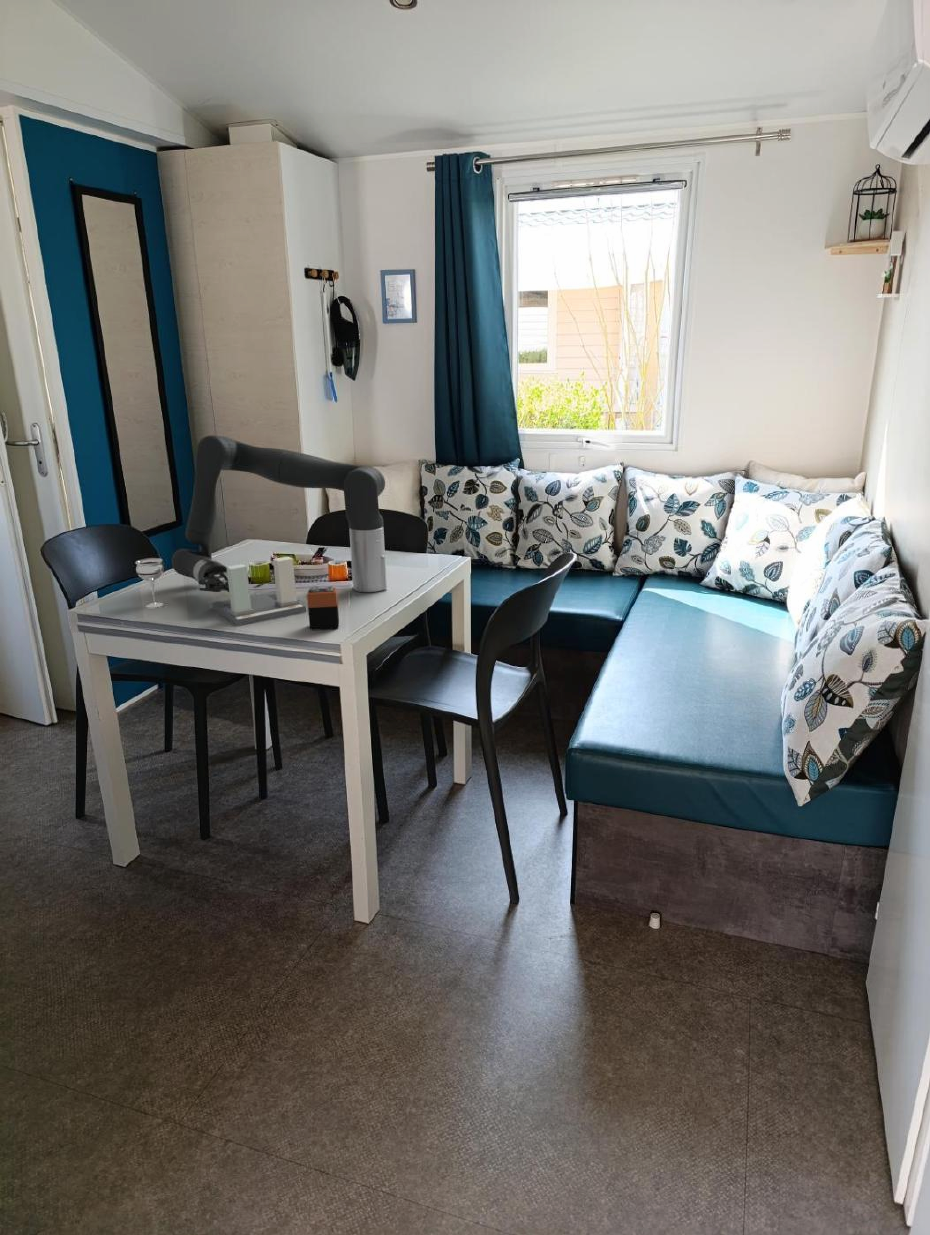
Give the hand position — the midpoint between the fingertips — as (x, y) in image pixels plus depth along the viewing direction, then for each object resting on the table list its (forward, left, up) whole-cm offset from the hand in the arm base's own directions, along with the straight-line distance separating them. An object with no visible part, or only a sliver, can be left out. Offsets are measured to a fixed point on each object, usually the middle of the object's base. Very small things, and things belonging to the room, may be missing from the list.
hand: (235, 589), depth 203 cm
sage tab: (-1, +3, -5) cm, 6 cm away
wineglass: (+24, -12, -7) cm, 28 cm away
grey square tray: (-4, -4, -7) cm, 9 cm away
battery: (-22, +12, -7) cm, 26 cm away
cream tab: (-12, -3, -5) cm, 14 cm away
